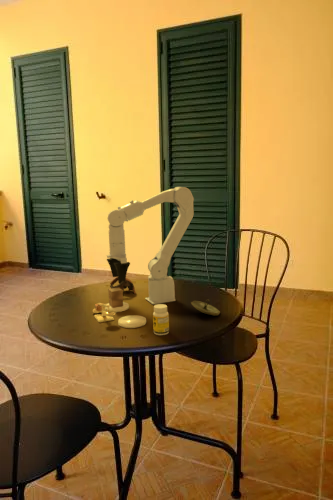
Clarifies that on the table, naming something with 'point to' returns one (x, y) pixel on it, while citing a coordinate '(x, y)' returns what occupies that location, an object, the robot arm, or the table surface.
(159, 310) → the supplement bottle
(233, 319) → the table surface
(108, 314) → the balance
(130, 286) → the brown segmented ring
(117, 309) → the dish low side
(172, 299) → the robot arm
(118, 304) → the block
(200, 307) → the lid
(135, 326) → the cream round disc
